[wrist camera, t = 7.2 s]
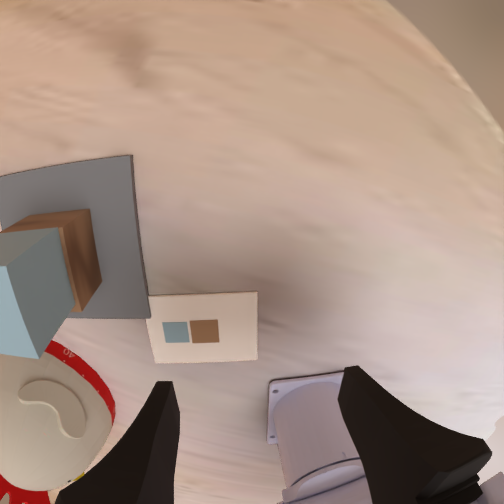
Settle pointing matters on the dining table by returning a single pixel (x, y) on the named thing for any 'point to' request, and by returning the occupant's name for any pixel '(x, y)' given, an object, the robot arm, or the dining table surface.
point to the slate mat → (103, 222)
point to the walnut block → (71, 249)
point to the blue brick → (32, 291)
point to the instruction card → (203, 327)
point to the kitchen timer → (49, 422)
